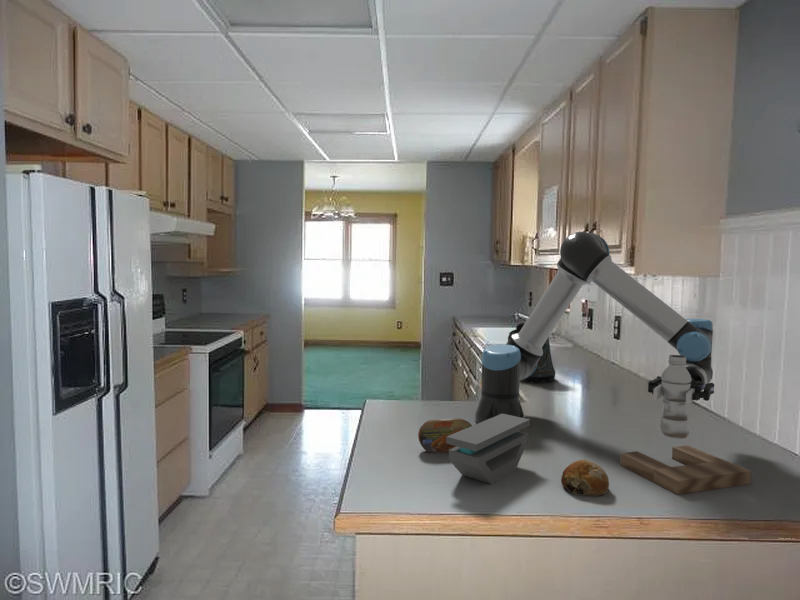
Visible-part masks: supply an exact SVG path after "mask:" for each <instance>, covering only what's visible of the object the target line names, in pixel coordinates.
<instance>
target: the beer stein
mask: <svg viewBox="0 0 800 600" xmlns="http://www.w3.org/2000/svg"><path fill="white" fill-rule="evenodd" d="M524 324H525V322H524V323H519V324H517V325H516V327H515V329H513V330H511V331H509V333H508V336H507V341H508V340H509V339H510V337H511V336H512V334H516V333H519V332H520V330H521V329H522V327H523V326H524ZM550 336H551V334H550V335H549V337H548V338H547V340H546V341H545V343H544V345H543V346H542V350H543V355H542V356H541V358H540V359H539V361H538V364H537V367H536V369H535V371H534V372H533V374H532V375H530V376H529V377H527V378H525V379H523V380H521V381H520V382H524V381H526V382H525V383H529V382H533V383H532V384H549V382H550V383H552V382H554V381H555V377H556V370H555V367H554V363H553V360H552V355H551V346H550V345H551V343H550Z"/></svg>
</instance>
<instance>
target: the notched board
mask: <svg viewBox="0 0 800 600" xmlns="http://www.w3.org/2000/svg"><path fill="white" fill-rule="evenodd" d="M671 448H672V451H671V459H672V460H675V461H677V462H679V463H681V464H684V465H677V466H670V465H668V464H666V463H663V462H661V461H659V460H657V459H655V458H653V457H651V456H649V455H646V454H644V453H642V452H640V451H628V452H621V453H620V464H619V465H620V466H622V467H623V468H625V469H627V470H629V471H631V472H632V473H633V472H634V474H637V475H639V476H641V477H643V479H644V478H645V479H647V480H648V481H650V482H652V483H654V484H656V485H658V486H660V487H661V488H664V489H665V490H668V491H669V492H671V493H674V494H675V495H684V494H691V493H697V492H703V491H704V492H705V491H709V490H710V491H712V490H716V489H723V488H729V487H737V486H742V485H743V486H744V485H750V484H751V481H752V480H751V479H752V470H750V469H748V468H745V467H743V466H740V465H737V464H735V463H732V462H730V461H727V460H726V459H723V458H720V457H718V456H715V455H713V454H711V453H708V452H705V451H703V450H701V449H698V448H696V447H693V446H691V445H687V444H686V445H679V446H672V447H671Z"/></svg>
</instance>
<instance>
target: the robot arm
mask: <svg viewBox="0 0 800 600" xmlns="http://www.w3.org/2000/svg"><path fill="white" fill-rule="evenodd" d="M559 248H560V249H559V256H560V258H559V260H558V261H557V263H556V266H557V272H556V274H555V276H554V277H553V278H552V280H551V282H550V283H549V285H548V287H547V288H546V290H544V292H543V294H542V296H541V298H540V299H539V300H538V302H537V303H536V305H535V306H534V309H533V310H532V311H531V313H530V315H529V316H528V317H527V319H526V321H525V322H524V323H525V324H524V326H523V327H522V329H521V330H520V332H519V333H516V334H512V336H511V337H510V339H509V340H508V339H507V342H506V343H505V344H504V343H503V344H495V345H489V346H486V347H485V348H484V349H483V351H482V355H481V359H480V360H481V361H480V362H481V385H480V386H481V388H480V389H481V392H480V399H479V401H478V405H477V406H476V410H475V413H474V421H475V423H476V424H478V423H480V422H483V421H485V420H488V419H490V418H493V417H495V416H497V415H500V414H507V415H511V416H516V417H521V418H525V414H524V411H523V406H522V404H521V400H520V382H522V381H521V380H523V379H525V378H527V377H529V376H530V375H532V374H533V372H534V371H535V369H536V367H537V364H538V361H539V359H540V358H541V356H542V355H543V350H542V346H543V345H544V343H545V341H546V340H547V338H548V337H549V338H550V336H551V334H552V333H553V331H554V330H555V328H556V326H557V325H558V324H559V322H560V321H561V319H562V317H563V316H564V314H565V312H566V311H567V310H568V308H569V307H570V305H571V303H572V302H573V301H574V299H575V298H576V296H577V295H578V293H579V291H580V290H581V288H582V287H583V286H585V285H589V284H590V283H594V284H595V285H596V286H598V287H599V288H600V289H601V290H603V292H605V293H607V294H608V296H610V298H611V297H612V299H614V300H615V301H616V302H617V303H618V304H619V305H621V306H622V307H623V308H625V309H626V310H627V311H628V312H629V313H631V314H632V315H634V317H635V318H637V319H638V320H639V321H640V322H642V323H643V324H645V325H646V326H647V327H648V328H650V330H652V331H653V332H654V333H656V334H657V335H658V336H660V337H661V338H662V339H664V341H666V342H667V343H668V344H669V346H671V347H672V348H674V349H675V350H676V352H677V353H678V355H682V356H686V365H685V368H686V369H687V370H688V372H689V374H690V375H691V379H692V380H691V386H690V390H689V391H688V392H687V393H686V405H688V406H690V405H691V404H692V403H693V402H694V401H699V400H701V399H703V401H710V399H711V395H713V394H715V383H713V382H711V380H712V379H713V374H714V372H713V368H712V352H713V334H714V329H713V325H714V324H713V321H711V320H710V319H705V318H684V316H682V315H681V314H680V313H679V312H677V311H676V310H675V309H673V308H672V307H671V306H670V305H668V304H667V303H666V302H664V301H663V300H662V299H660V298H659V297H658V296H657V295H655V294H654V293H653V292H652V291H650V290H649V289H648V288H646V287H645V286H644V285H643V284H641V283H640V282H639V281H637V279H635V278H634V277H633V276H631V275H630V274H628V273H627V272H626V271H625V270H623V269H622V268H621V267H619V265H617V264H616V263H615V262H613V261H612V255H611V254H610V248H609V245H608V243H607V242H606V240H605V238H603V237H601V236H600V235H599V234H596V233H594V232H588V231H587V232H586V231H577V232H573V233H571V234H569V235H567V237H566V238H564V239H563V242H562V243H561V245H560V247H559ZM549 335H550V336H549ZM647 384H648V385H647V392H648V393H651V394H652V397H653V398H652V401H658V400H659V399H660V398H661V397H663V390H662V380H661V376H660V375H658V376H656V378H654V379H651V380H650V381H648V383H647Z"/></svg>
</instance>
